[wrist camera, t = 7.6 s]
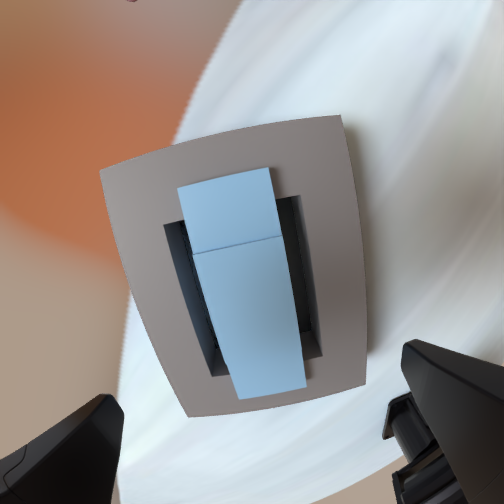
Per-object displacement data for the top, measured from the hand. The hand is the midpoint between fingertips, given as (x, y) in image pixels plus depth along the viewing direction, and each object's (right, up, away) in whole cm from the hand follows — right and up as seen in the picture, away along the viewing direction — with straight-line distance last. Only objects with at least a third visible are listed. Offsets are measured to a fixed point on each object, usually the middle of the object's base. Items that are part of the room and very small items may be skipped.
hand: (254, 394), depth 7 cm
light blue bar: (0, +2, +10) cm, 10 cm away
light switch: (0, +2, +9) cm, 10 cm away
